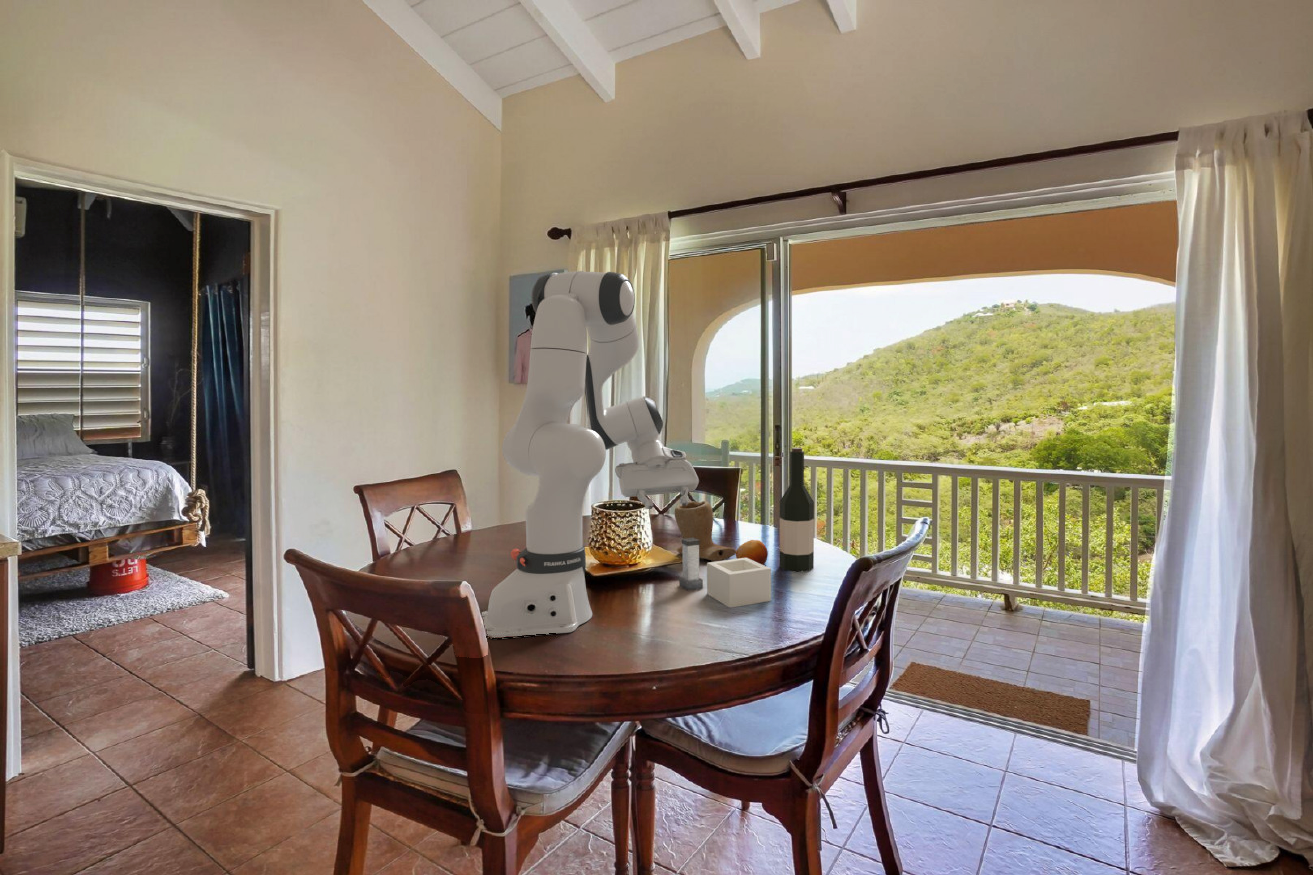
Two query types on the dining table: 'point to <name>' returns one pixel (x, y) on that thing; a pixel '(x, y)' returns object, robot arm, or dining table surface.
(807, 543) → the wine bottle
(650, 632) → the dining table surface
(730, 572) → the holder
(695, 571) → the capped white pillar
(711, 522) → the brown boot
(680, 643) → the dining table surface
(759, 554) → the fruit
